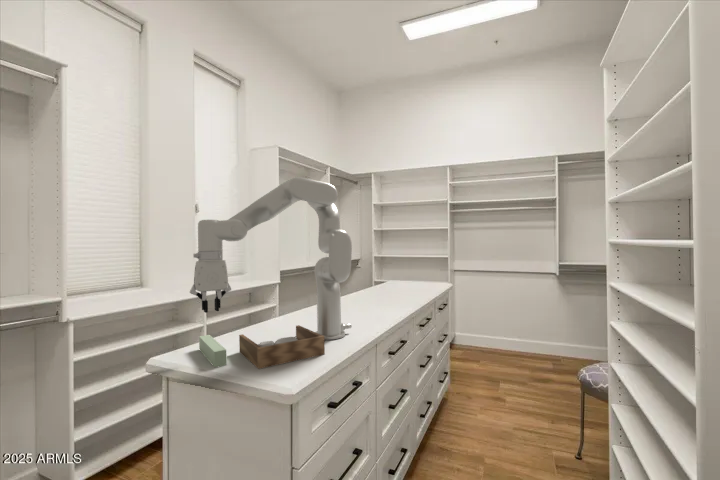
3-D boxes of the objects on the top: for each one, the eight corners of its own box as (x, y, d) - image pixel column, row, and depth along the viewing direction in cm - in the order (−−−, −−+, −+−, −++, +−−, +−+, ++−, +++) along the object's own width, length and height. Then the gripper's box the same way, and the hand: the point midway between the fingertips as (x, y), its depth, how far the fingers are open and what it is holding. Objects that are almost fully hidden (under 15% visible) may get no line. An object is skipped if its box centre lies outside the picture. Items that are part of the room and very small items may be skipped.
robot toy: (252, 364, 112) (299, 356, 115) (250, 350, 112) (298, 343, 115) (256, 352, 124) (299, 346, 127) (255, 339, 124) (298, 333, 127)
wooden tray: (299, 340, 134) (298, 325, 134) (324, 354, 117) (324, 336, 117) (239, 352, 121) (239, 334, 121) (258, 368, 105) (258, 348, 105)
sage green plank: (199, 350, 125) (199, 336, 126) (209, 348, 127) (209, 334, 128) (214, 368, 107) (214, 351, 107) (226, 365, 109) (226, 349, 109)
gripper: (185, 257, 110) (186, 316, 109) (238, 255, 119) (239, 310, 119) (181, 257, 116) (182, 312, 116) (232, 255, 125) (233, 307, 125)
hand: (211, 310), depth 117 cm, fingers open, 2 cm apart
